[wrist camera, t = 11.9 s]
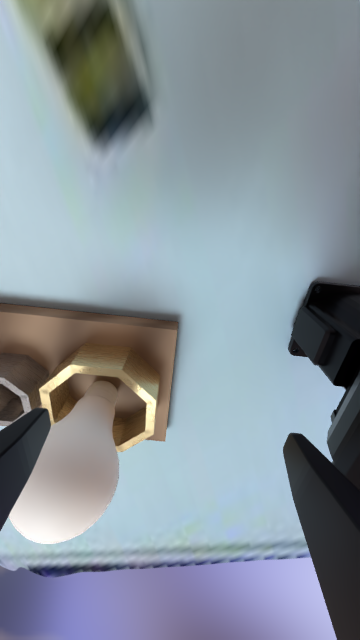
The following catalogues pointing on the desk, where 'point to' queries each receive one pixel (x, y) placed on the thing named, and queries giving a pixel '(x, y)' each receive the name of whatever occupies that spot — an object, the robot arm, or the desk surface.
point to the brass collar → (114, 365)
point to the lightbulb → (72, 472)
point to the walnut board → (83, 327)
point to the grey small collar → (19, 386)
